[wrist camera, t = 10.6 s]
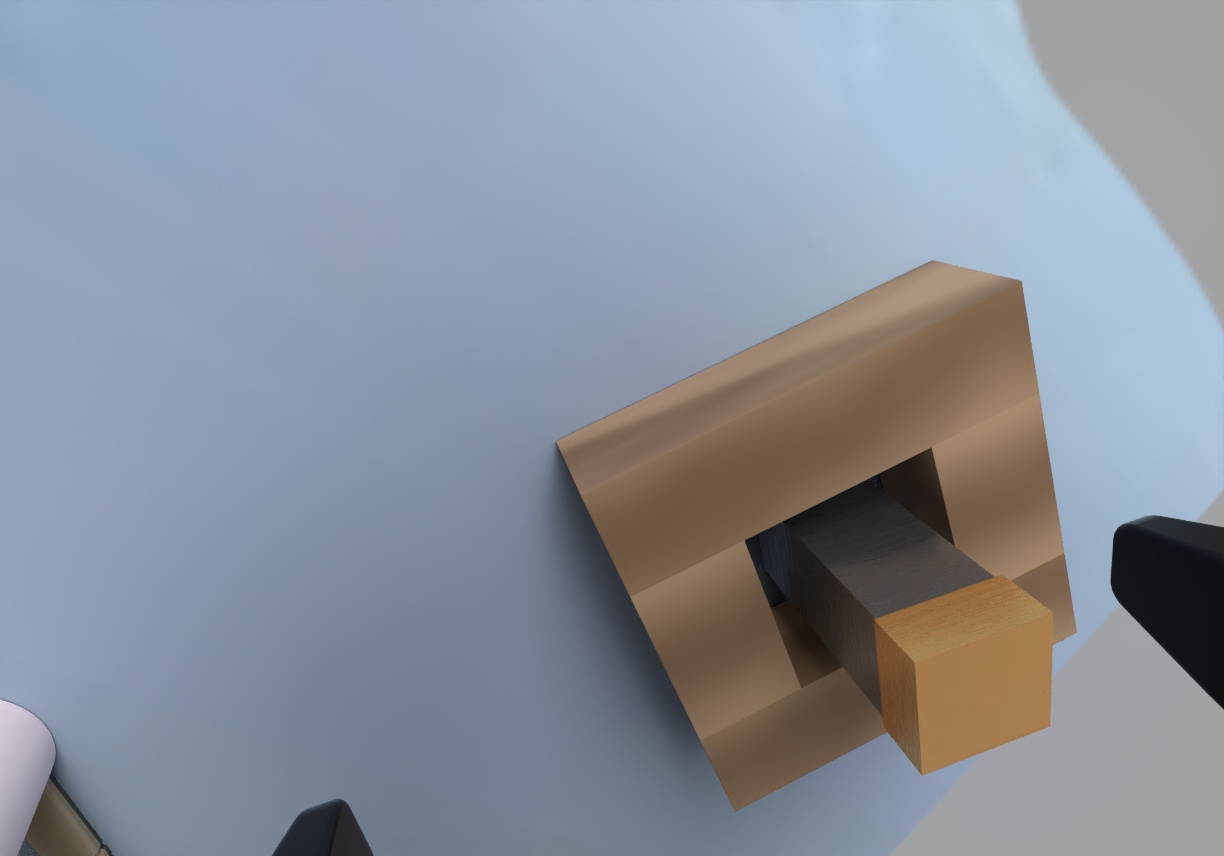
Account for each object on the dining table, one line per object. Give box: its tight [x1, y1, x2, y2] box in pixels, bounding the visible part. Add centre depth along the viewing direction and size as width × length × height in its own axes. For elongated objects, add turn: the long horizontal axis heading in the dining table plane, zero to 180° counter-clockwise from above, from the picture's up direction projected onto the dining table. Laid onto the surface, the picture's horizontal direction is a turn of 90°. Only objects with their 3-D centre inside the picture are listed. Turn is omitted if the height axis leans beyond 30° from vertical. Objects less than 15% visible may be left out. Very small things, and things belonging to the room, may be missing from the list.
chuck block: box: [556, 261, 1077, 811], centre depth 22 cm, size 12×12×4 cm
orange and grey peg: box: [758, 480, 1053, 775], centre depth 20 cm, size 3×3×8 cm
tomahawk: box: [25, 773, 112, 856], centre depth 21 cm, size 21×7×1 cm, turn 13°
